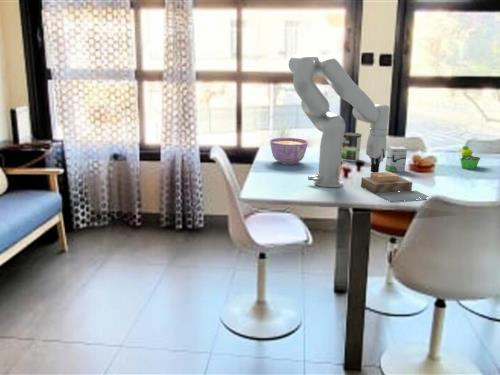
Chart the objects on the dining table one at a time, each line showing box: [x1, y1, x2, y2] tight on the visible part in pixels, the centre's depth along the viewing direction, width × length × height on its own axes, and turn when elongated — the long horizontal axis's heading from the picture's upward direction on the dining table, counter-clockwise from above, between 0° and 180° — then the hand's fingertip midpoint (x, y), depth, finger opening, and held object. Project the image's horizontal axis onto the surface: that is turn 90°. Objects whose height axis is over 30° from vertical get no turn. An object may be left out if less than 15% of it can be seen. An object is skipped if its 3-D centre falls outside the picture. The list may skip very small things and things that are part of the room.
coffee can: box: [341, 131, 362, 162], centre depth 283 cm, size 10×10×14 cm
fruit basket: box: [460, 145, 481, 170], centre depth 272 cm, size 11×9×11 cm
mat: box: [375, 190, 430, 203], centre depth 217 cm, size 20×12×1 cm, turn 106°
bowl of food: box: [269, 137, 309, 165], centre depth 272 cm, size 20×20×12 cm
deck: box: [360, 176, 413, 195], centre depth 228 cm, size 18×12×4 cm, turn 106°
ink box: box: [384, 146, 408, 172], centre depth 261 cm, size 9×5×12 cm, turn 101°
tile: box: [369, 171, 400, 181], centre depth 229 cm, size 10×7×2 cm
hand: (374, 172), depth 237 cm, fingers closed
